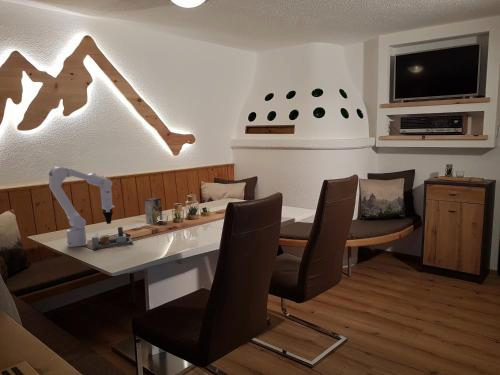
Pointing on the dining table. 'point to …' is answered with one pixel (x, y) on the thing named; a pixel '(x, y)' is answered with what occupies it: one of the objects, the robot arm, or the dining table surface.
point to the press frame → (96, 241)
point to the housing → (104, 239)
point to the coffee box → (153, 210)
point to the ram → (120, 236)
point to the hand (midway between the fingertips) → (108, 222)
